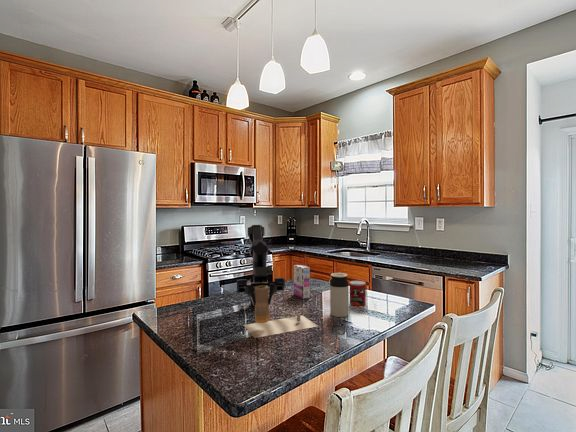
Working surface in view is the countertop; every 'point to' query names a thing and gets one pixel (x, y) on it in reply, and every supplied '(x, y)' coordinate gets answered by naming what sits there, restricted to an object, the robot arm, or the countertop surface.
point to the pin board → (279, 326)
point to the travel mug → (339, 295)
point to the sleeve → (261, 303)
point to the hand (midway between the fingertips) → (262, 304)
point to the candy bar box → (302, 281)
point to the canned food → (358, 293)
